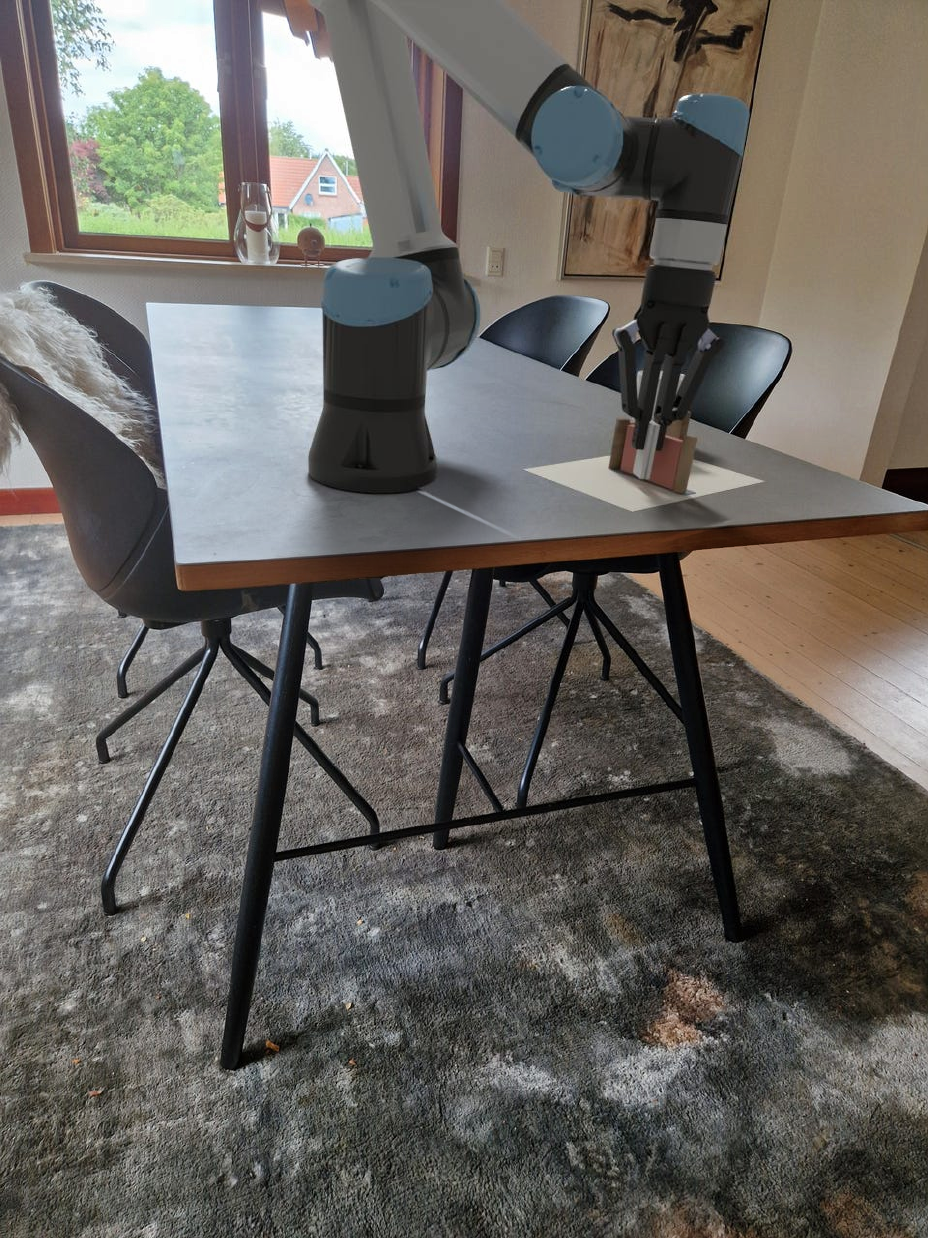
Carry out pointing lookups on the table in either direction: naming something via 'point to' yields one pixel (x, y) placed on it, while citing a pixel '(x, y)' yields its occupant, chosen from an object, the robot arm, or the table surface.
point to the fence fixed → (674, 430)
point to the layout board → (638, 483)
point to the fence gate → (665, 461)
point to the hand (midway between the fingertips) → (641, 475)
